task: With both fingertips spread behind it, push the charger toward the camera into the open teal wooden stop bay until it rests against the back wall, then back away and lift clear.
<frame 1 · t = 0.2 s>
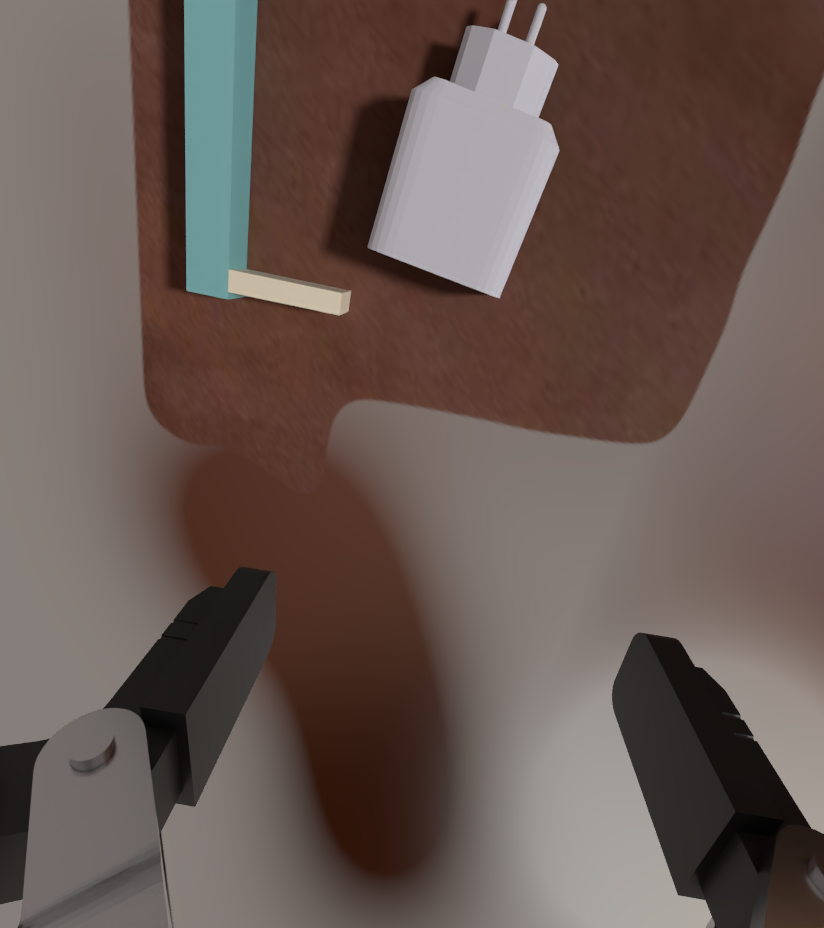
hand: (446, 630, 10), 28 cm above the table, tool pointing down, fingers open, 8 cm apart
stop bay: (231, 103, 31), on the table
charger: (475, 159, 31), on the table
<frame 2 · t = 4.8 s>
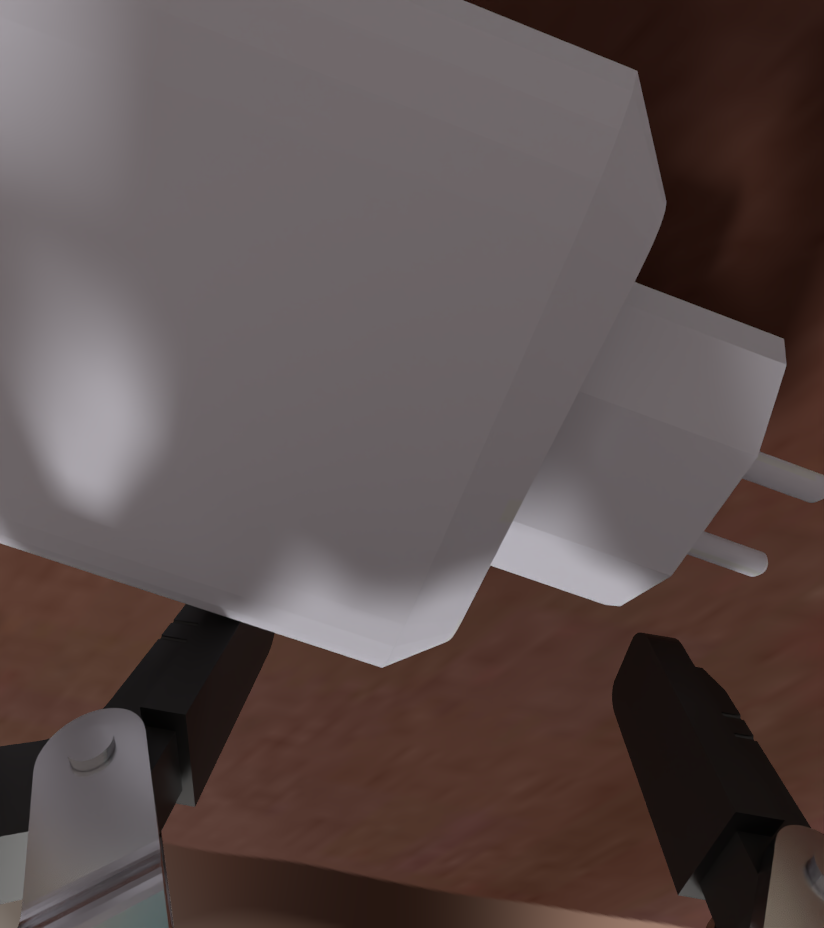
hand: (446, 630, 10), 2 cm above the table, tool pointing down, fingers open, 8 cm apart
charger: (415, 360, 11), on the table, touching gripper
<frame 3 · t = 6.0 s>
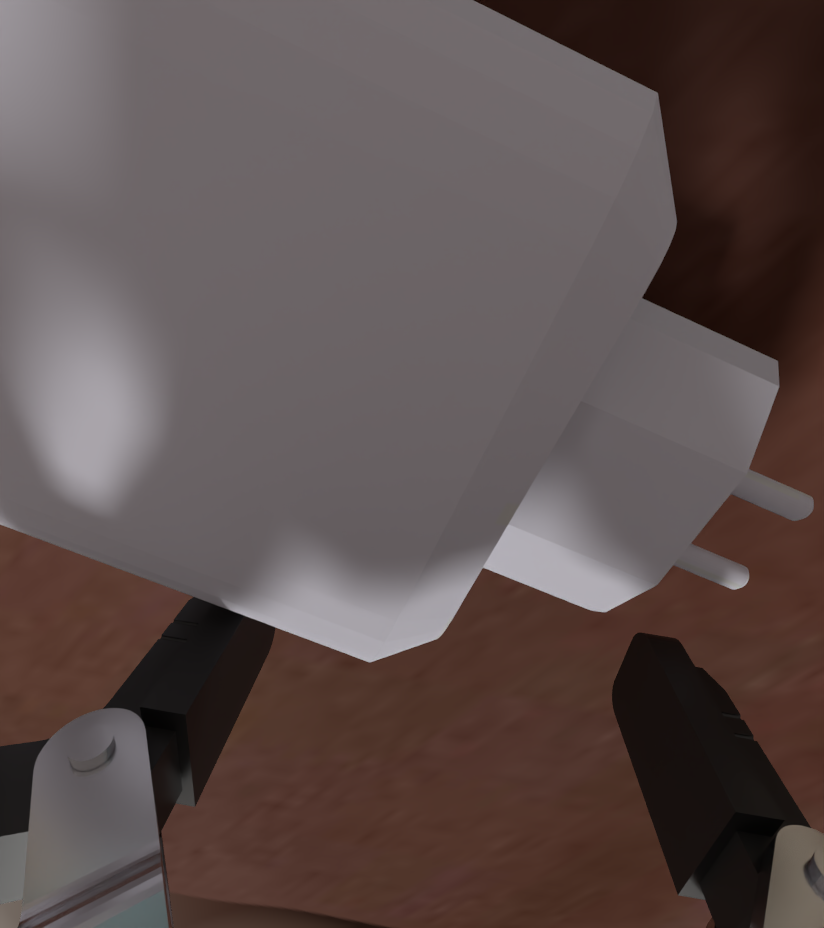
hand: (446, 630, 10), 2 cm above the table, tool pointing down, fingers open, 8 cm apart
charger: (417, 360, 11), on the table
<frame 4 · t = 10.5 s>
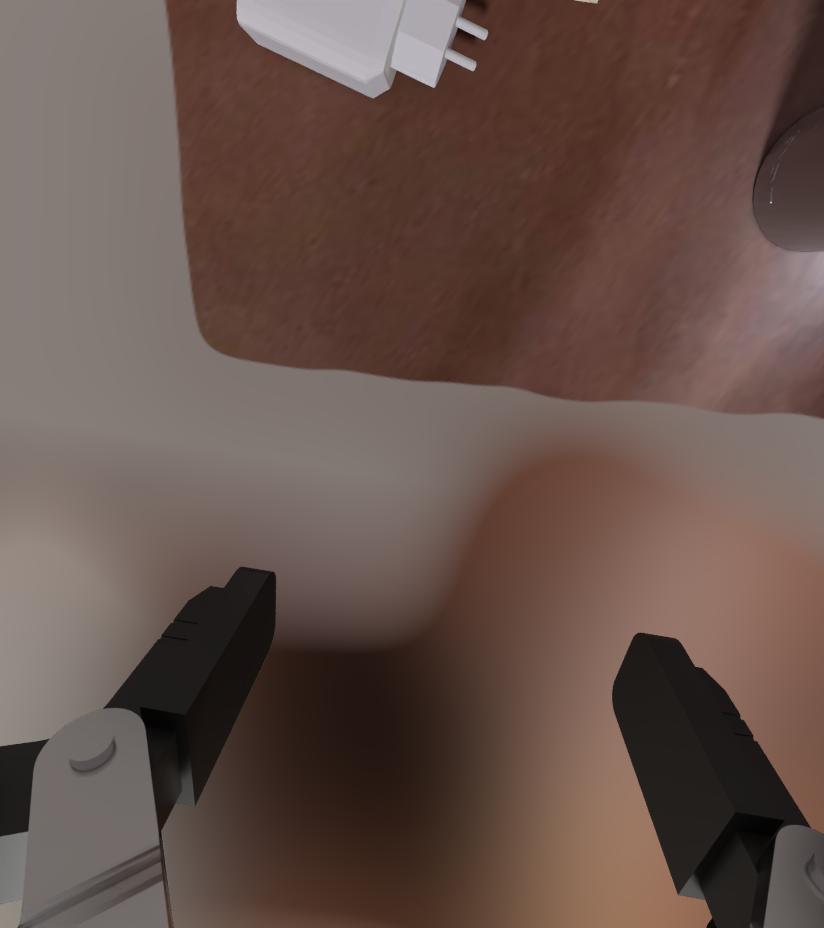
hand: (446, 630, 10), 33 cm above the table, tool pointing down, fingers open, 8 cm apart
charger: (381, 18, 32), on the table
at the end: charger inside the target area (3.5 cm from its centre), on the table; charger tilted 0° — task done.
